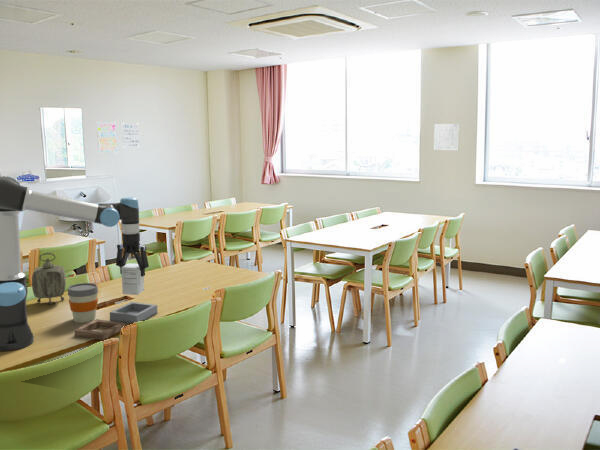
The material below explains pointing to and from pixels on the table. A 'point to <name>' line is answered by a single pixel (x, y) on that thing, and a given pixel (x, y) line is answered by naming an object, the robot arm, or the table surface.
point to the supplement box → (131, 279)
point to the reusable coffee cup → (83, 301)
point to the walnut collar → (87, 333)
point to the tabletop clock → (48, 280)
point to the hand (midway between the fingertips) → (133, 282)
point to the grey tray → (133, 312)
